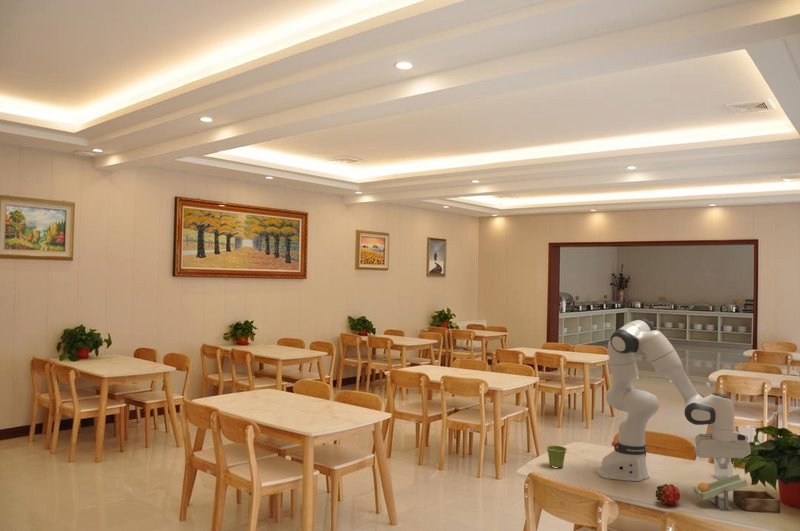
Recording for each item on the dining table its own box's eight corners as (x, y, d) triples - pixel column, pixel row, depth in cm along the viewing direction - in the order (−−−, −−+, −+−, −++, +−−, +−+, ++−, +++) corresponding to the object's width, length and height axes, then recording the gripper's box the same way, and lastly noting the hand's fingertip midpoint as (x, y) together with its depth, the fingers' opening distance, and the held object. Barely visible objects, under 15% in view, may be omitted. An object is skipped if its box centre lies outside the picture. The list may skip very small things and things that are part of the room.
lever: (702, 500, 237) (700, 493, 237) (689, 488, 250) (686, 481, 250) (748, 485, 236) (745, 478, 236) (732, 474, 249) (729, 467, 249)
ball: (701, 495, 238) (699, 485, 238) (697, 491, 242) (695, 481, 242) (711, 494, 238) (710, 484, 238) (707, 490, 242) (705, 480, 242)
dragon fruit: (657, 511, 237) (673, 508, 245) (675, 503, 233) (691, 501, 240) (646, 489, 242) (663, 487, 249) (664, 481, 237) (680, 479, 244)
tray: (745, 511, 234) (745, 499, 234) (733, 501, 244) (733, 490, 244) (780, 512, 233) (780, 500, 233) (766, 502, 243) (766, 491, 243)
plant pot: (569, 465, 289) (569, 447, 290) (563, 471, 281) (563, 452, 282) (550, 462, 294) (550, 444, 295) (543, 467, 286) (543, 449, 287)
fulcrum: (721, 510, 234) (721, 491, 235) (709, 500, 245) (709, 482, 245) (733, 510, 234) (733, 491, 234) (721, 500, 244) (721, 482, 245)
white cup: (736, 481, 268) (736, 458, 269) (716, 480, 270) (716, 457, 270) (730, 475, 276) (730, 453, 276) (711, 474, 278) (711, 452, 278)
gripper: (698, 435, 244) (699, 470, 244) (752, 436, 242) (753, 471, 242) (692, 431, 251) (693, 465, 251) (745, 432, 248) (746, 466, 248)
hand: (723, 468), depth 246 cm, fingers closed
